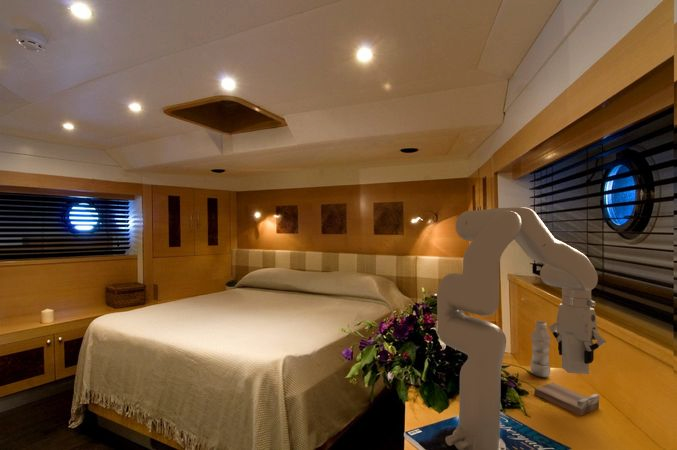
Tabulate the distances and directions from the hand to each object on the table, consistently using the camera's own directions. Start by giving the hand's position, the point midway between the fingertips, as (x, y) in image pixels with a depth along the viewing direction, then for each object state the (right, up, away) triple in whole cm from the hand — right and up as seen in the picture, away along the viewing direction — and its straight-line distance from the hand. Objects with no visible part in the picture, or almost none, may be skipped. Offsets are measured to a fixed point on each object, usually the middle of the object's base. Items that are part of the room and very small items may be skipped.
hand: (575, 358), depth 106 cm
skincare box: (0, -4, 0) cm, 4 cm away
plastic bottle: (+1, -15, +21) cm, 25 cm away
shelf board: (-2, -15, +2) cm, 15 cm away
